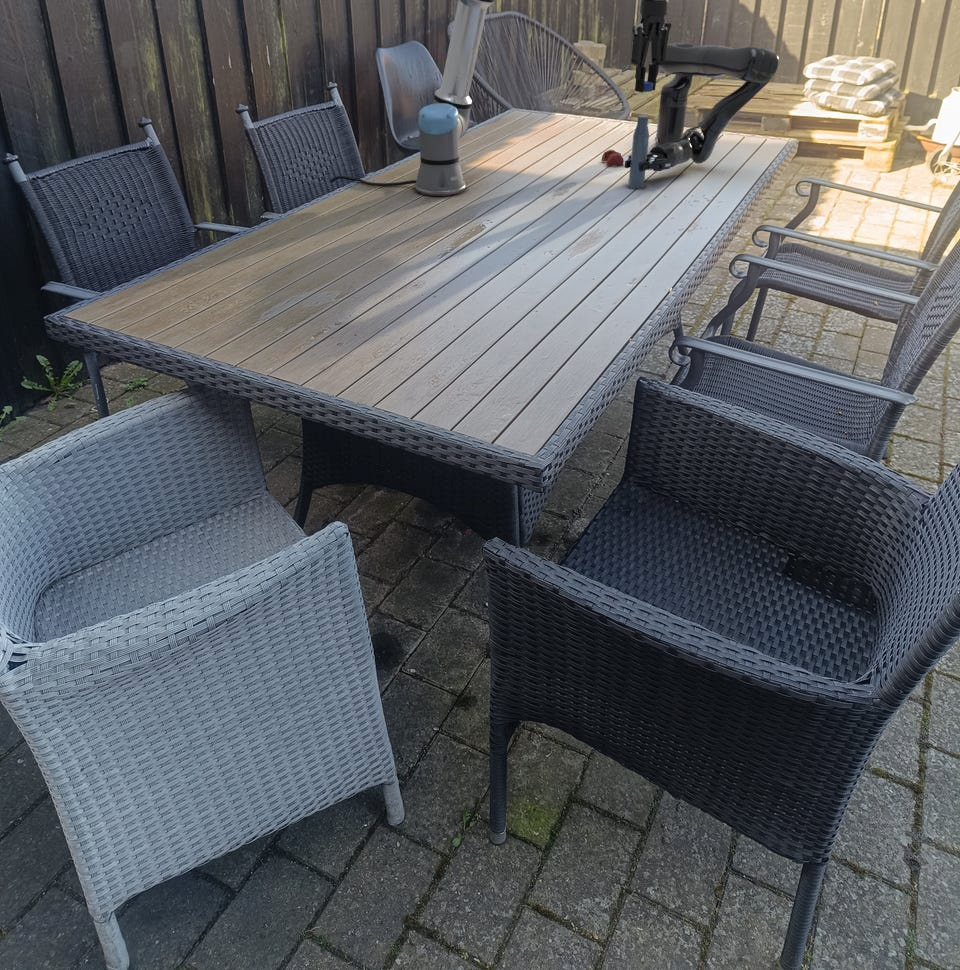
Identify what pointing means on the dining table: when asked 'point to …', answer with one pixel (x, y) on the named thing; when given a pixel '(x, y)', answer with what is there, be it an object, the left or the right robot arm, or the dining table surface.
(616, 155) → the dental model
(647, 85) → the cap
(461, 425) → the dining table surface
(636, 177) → the bottle
